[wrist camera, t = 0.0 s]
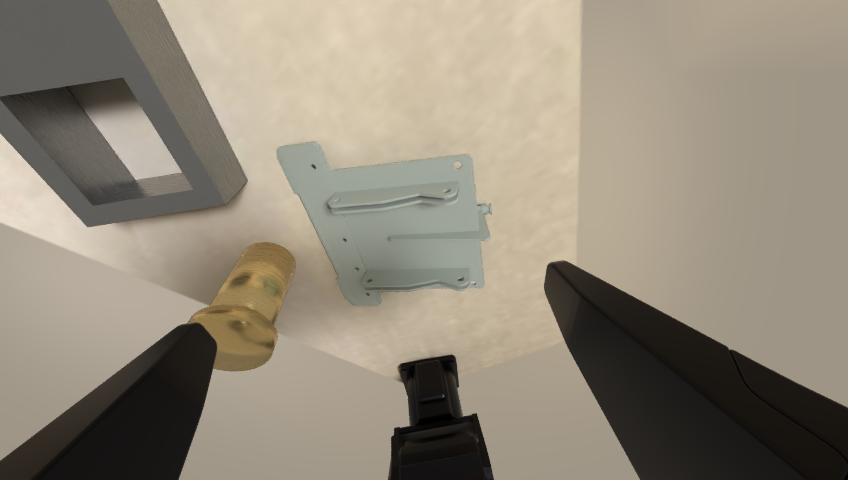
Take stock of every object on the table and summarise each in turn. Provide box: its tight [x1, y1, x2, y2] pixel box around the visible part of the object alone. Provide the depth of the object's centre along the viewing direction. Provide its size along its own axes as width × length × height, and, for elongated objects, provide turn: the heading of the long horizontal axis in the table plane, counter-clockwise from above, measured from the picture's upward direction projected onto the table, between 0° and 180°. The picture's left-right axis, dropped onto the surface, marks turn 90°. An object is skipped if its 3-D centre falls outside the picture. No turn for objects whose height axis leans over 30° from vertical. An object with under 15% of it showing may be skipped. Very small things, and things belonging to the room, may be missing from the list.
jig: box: [0, 0, 248, 227], centre depth 16 cm, size 10×8×4 cm
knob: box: [187, 242, 295, 371], centre depth 21 cm, size 5×5×8 cm
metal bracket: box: [277, 141, 492, 306], centre depth 23 cm, size 14×6×15 cm
